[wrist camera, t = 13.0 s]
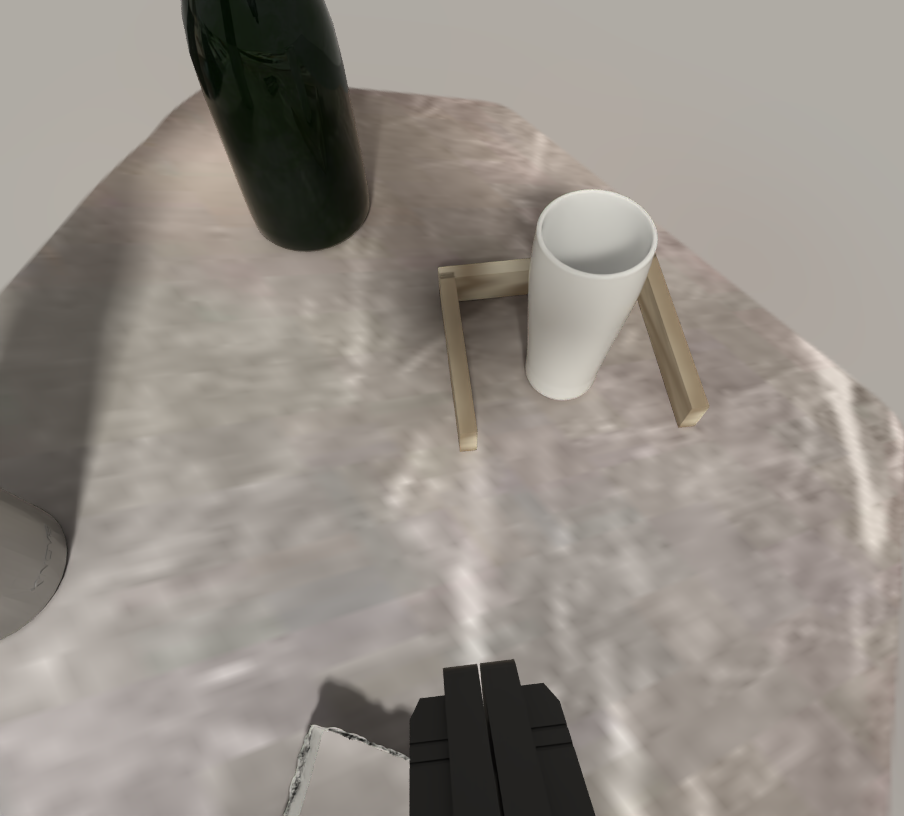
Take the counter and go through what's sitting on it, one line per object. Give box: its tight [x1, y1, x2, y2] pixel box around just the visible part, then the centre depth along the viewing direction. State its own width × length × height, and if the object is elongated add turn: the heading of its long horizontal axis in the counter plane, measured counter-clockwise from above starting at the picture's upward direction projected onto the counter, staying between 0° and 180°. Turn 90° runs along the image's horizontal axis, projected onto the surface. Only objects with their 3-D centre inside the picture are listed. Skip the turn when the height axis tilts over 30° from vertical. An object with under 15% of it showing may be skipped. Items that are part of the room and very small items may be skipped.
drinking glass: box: [525, 189, 658, 400], centre depth 40 cm, size 7×7×15 cm
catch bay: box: [438, 254, 710, 452], centre depth 46 cm, size 17×15×3 cm
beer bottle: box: [181, 0, 370, 252], centre depth 40 cm, size 10×10×33 cm
